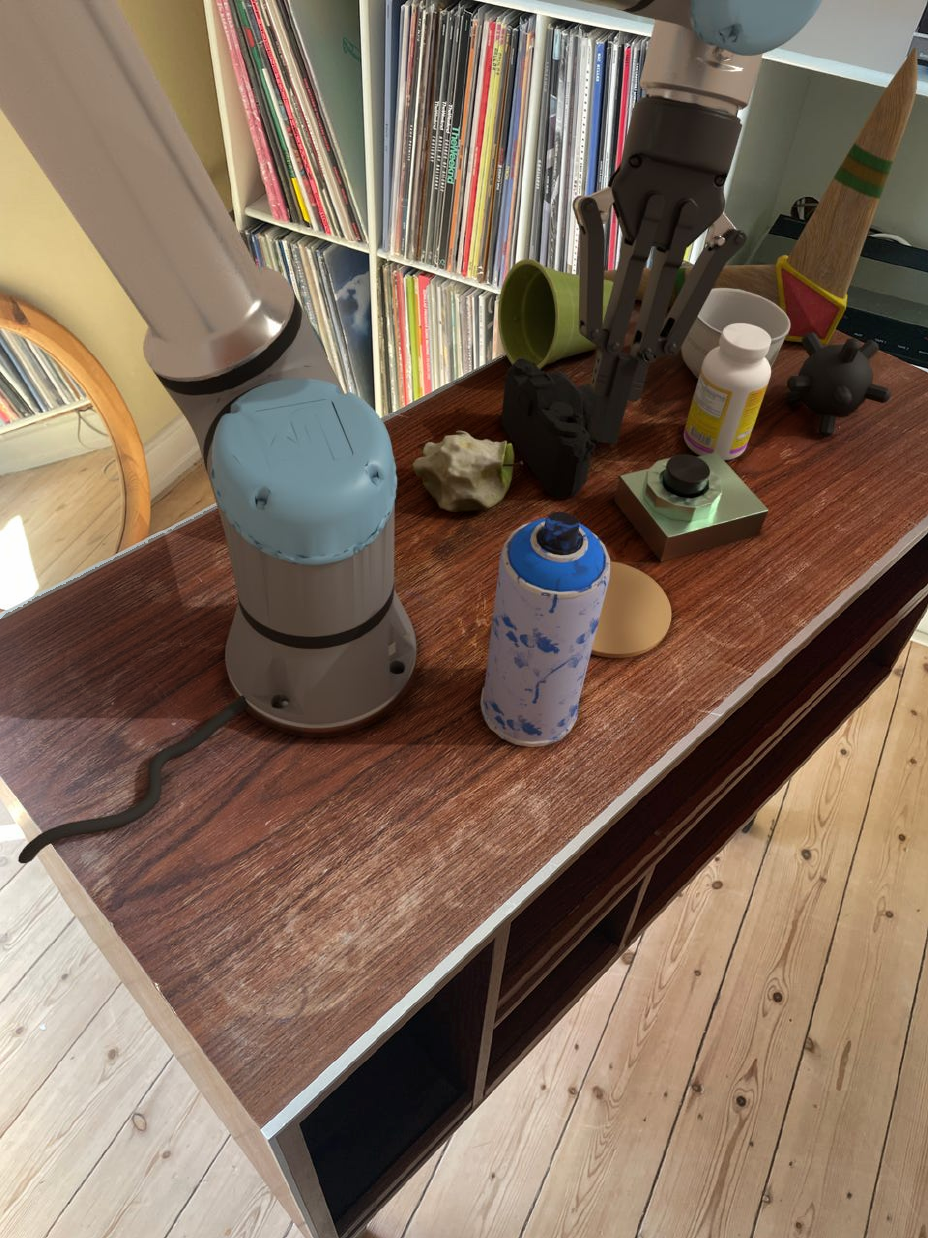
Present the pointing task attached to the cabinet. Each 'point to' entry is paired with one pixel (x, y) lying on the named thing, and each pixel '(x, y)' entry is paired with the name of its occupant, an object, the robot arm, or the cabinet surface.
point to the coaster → (631, 614)
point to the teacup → (727, 310)
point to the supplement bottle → (729, 392)
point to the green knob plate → (690, 510)
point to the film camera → (550, 425)
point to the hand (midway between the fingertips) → (602, 437)
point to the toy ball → (835, 380)
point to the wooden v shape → (827, 226)
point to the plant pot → (542, 314)
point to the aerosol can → (543, 629)
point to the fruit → (466, 472)
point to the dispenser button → (686, 476)
